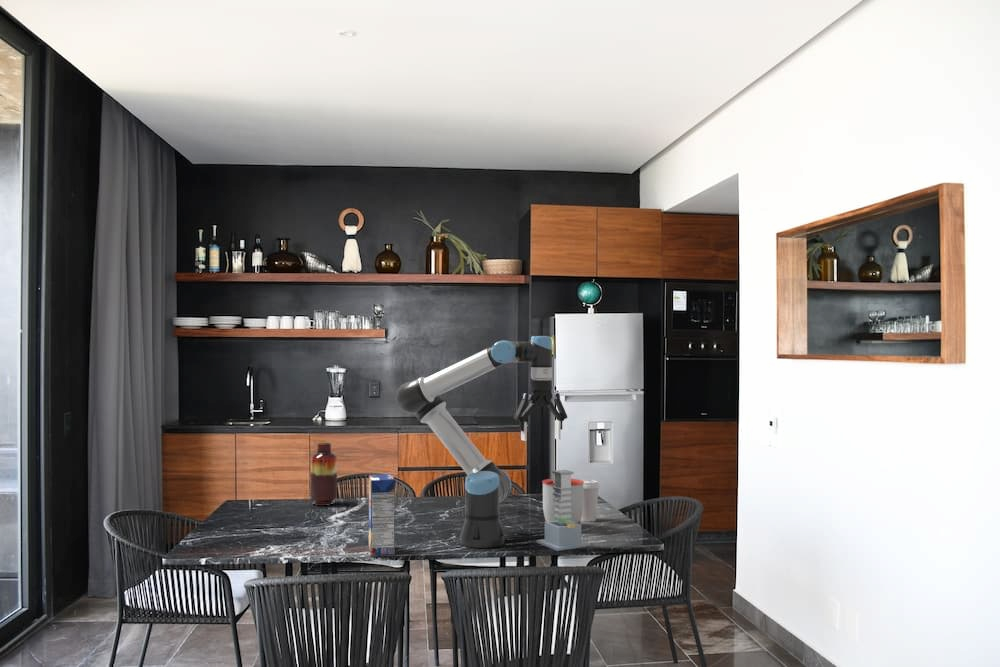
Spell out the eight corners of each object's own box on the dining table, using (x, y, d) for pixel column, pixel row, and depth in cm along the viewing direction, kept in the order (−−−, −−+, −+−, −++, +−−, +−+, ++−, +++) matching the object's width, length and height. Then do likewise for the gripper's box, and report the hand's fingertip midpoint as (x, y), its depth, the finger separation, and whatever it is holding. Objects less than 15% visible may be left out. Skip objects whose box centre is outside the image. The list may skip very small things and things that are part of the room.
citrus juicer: (576, 520, 298) (576, 468, 299) (589, 530, 281) (589, 475, 282) (536, 522, 295) (536, 469, 296) (547, 532, 278) (547, 476, 279)
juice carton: (368, 547, 257) (368, 474, 257) (391, 545, 258) (391, 474, 259) (371, 556, 245) (371, 480, 246) (394, 554, 247) (395, 479, 248)
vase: (328, 500, 340) (329, 441, 340) (341, 504, 331) (342, 443, 332) (305, 503, 332) (306, 443, 333) (318, 507, 324) (319, 445, 325)
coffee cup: (599, 523, 294) (598, 483, 295) (574, 522, 296) (573, 482, 296) (600, 517, 303) (600, 479, 304) (576, 516, 305) (576, 478, 306)
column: (560, 526, 257) (560, 472, 258) (552, 523, 262) (552, 470, 263) (573, 524, 260) (573, 471, 260) (565, 521, 265) (564, 469, 265)
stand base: (557, 550, 252) (557, 526, 252) (536, 542, 263) (536, 519, 264) (589, 546, 258) (589, 522, 258) (568, 538, 270) (568, 515, 270)
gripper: (514, 380, 264) (514, 442, 263) (577, 379, 275) (576, 439, 274) (505, 379, 271) (504, 440, 270) (566, 379, 282) (566, 437, 281)
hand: (540, 439), depth 272 cm, fingers open, 13 cm apart
